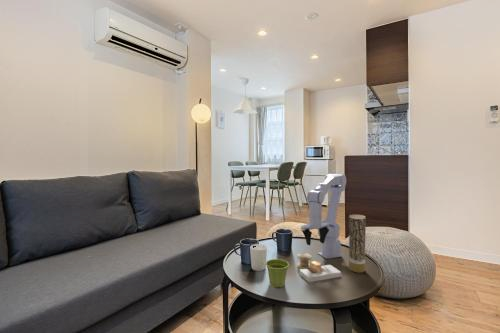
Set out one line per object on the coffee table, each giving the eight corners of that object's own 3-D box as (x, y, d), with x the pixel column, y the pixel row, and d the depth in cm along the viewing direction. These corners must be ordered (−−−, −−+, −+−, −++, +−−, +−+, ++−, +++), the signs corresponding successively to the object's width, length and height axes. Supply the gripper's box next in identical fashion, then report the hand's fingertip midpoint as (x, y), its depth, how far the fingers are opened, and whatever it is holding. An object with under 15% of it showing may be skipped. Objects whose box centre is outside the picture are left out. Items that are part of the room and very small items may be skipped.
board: (329, 268, 120) (330, 264, 120) (341, 276, 112) (341, 271, 112) (299, 274, 115) (299, 269, 115) (308, 282, 107) (308, 277, 107)
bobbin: (307, 262, 127) (307, 252, 127) (314, 268, 120) (314, 257, 120) (294, 264, 125) (294, 254, 124) (301, 270, 118) (301, 259, 118)
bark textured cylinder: (366, 273, 114) (367, 218, 113) (350, 272, 116) (350, 217, 115) (363, 267, 121) (363, 214, 120) (347, 266, 122) (348, 214, 121)
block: (314, 271, 117) (314, 260, 117) (321, 274, 114) (321, 263, 114) (309, 273, 116) (309, 262, 116) (316, 276, 112) (316, 265, 112)
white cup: (267, 264, 125) (267, 244, 125) (266, 271, 117) (266, 250, 117) (251, 264, 126) (250, 243, 125) (249, 271, 118) (249, 249, 118)
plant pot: (274, 276, 113) (274, 257, 112) (293, 283, 107) (293, 262, 106) (261, 285, 105) (261, 264, 105) (280, 292, 100) (280, 270, 99)
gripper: (323, 212, 129) (323, 239, 130) (297, 215, 125) (297, 242, 125) (332, 215, 123) (331, 243, 123) (305, 218, 118) (305, 247, 118)
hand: (315, 243), depth 124 cm, fingers open, 7 cm apart
